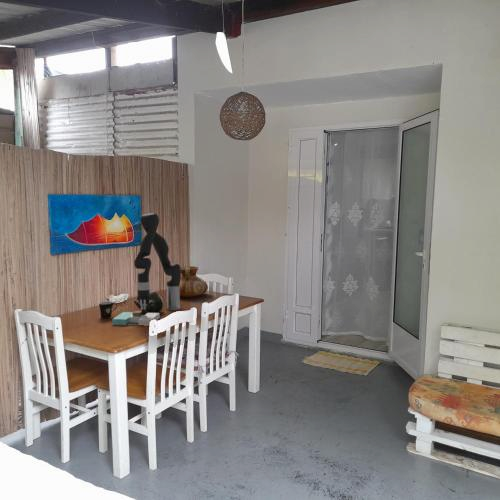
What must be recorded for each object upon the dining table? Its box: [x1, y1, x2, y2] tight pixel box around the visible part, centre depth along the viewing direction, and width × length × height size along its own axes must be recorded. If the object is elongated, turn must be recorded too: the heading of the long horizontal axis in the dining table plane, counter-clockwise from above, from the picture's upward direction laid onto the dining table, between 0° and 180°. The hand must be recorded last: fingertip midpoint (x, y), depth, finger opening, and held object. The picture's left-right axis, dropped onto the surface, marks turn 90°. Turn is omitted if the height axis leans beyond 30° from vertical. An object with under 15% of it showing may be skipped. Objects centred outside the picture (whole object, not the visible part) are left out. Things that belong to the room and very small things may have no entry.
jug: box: [180, 265, 209, 299], centre depth 370 cm, size 30×30×25 cm
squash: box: [146, 292, 164, 314], centre depth 316 cm, size 14×15×15 cm
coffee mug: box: [98, 300, 118, 320], centre depth 303 cm, size 12×9×10 cm
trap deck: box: [112, 311, 161, 327], centre depth 293 cm, size 18×25×4 cm
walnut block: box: [133, 310, 143, 317], centre depth 292 cm, size 5×5×2 cm
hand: (144, 314), depth 292 cm, fingers closed
